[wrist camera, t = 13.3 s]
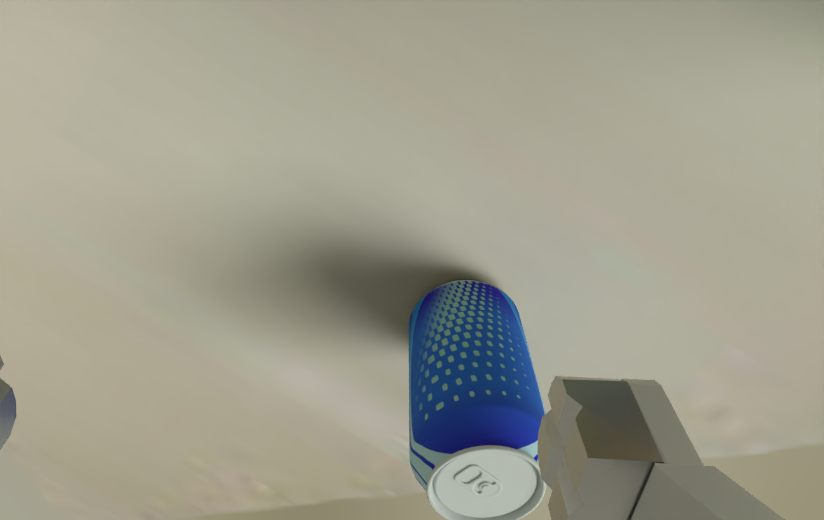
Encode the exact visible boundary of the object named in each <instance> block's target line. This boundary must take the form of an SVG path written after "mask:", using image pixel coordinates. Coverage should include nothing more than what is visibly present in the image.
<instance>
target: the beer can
mask: <svg viewBox="0 0 824 520" xmlns="http://www.w3.org/2000/svg"><path fill="white" fill-rule="evenodd" d="M545 414H546V413H545V409H544V405H543V401H542V398H541V394H540V390H539V387H538V383H537V379H536V375H535V372H534V368H533V364H532V361H531V357H530V353H529V349H528V346H527V342H526V338H525V335H524V331H523V327H522V323H521V320H520V316H519V313H518V310H517V308H516V306H515V304H514V302H513V301H512V300H511V299H510V297H509V296H508V295H507V294H505V293H504V292H503V291H502V290H500V289H498V288H497V287H495V286H492V285H490V284H487V283H484V282H479V281H474V280H456V281H451V282H448V283H445V284H443V285H441V286H439V287H437V288H435V289H433V290H432V291H430V292H429V293H427V294H426V295H425V296H424V297H423V298H421V300H420V301H419V302H418V303H417V304H416V306H415V308H414V309H413V311H412V314H411V317H410V320H409V445H410V463H411V468H412V470H413V473H414V475H415V477H416V479H417V480H418V482H419V483H420V484H421V485H422V487H423V488H424V489H425V490H426V491H427V497H428V500H429V502H430V504H431V506H432V507H433V509H434V510H435V511H436V512H437V513H438V514H439V515H441V516H442V517H444V518H446V519H447V520H519V519H521V518H522V517H524V516H526V515H527V514H529V513H530V512H532V511H533V510H534V509H535V508H536V507H537V506H538V505H539V503H540V502H541V500H542V498H543V496H544V494H545V490H546V483H545V482H544V481H543V480H542V477H541V473H540V468H539V462H538V452H537V449H538V433H539V428H540V424H541V420H542V417H543V416H544V415H545Z"/></svg>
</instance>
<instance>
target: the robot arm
mask: <svg viewBox="0 0 824 520" xmlns="http://www.w3.org/2000/svg"><path fill="white" fill-rule="evenodd" d="M3 365H4V364H3V361H2V359H1V356H0V370H1V368H2V367H3ZM548 398H549V401H550V405H551V409H552V410H550V411H549V412H548V413H547V414H545V415H544V416H543V417H542V420H541V424H540V428H539V433H538V449H537V452H538V462H539V468H540V473H541V477H542V480H543V481H544V482H545V483H546V484H547V485H548V486H549V487H550V488H551V489H552V494H551V497H550V500H549V504H548V507H549V511H550V515H551V519H552V520H784V519H783V518H782V517H780V516H779V515H778V514H776V513H775V512H774V511H772V510H771V509H770V508H768V507H767V506H766V505H765V504H763V503H762V502H761V501H759V500H758V499H757V498H755V497H754V496H753V495H751V494H750V493H749V492H747V491H746V490H745V489H743V488H742V487H741V486H739V485H738V484H737V483H735V482H734V481H733V480H732V479H730V478H729V477H727V476H726V475H725V474H724V473H722V472H721V471H719V470H718V469H717V468H716V467H714V466H704V465H703V463H702V461H701V459H700V457H699V455H698V454H697V452H696V450H695V448H694V446H693V444H692V442H691V440H690V439H689V437H688V435H687V433H686V431H685V429H684V427H683V425H682V424H681V422H680V420H679V418H678V416H677V414H676V412H675V410H674V409H673V407H672V405H671V403H670V401H669V399H668V397H667V395H666V394H665V392H664V390H663V388H662V386H661V385H660V384H659V383H658V382H656V381H655V380H638V379H621V380H619V379H603V378H584V377H565V376H556V377H555V378H554V380H553V382H552V383H551V387H550V390H549V394H548ZM15 418H16V399H15V396H14V393H13V390H12V388H11V387H10V386H9V385H8V384H7V383H5V382H4V381H3V380H2V379H1V378H0V449H1V448H2V446H3V445H4V444H5V442H6V441H7V439H8V438H9V436H10V434H11V430H12V427H13V424H14V421H15Z"/></svg>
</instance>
